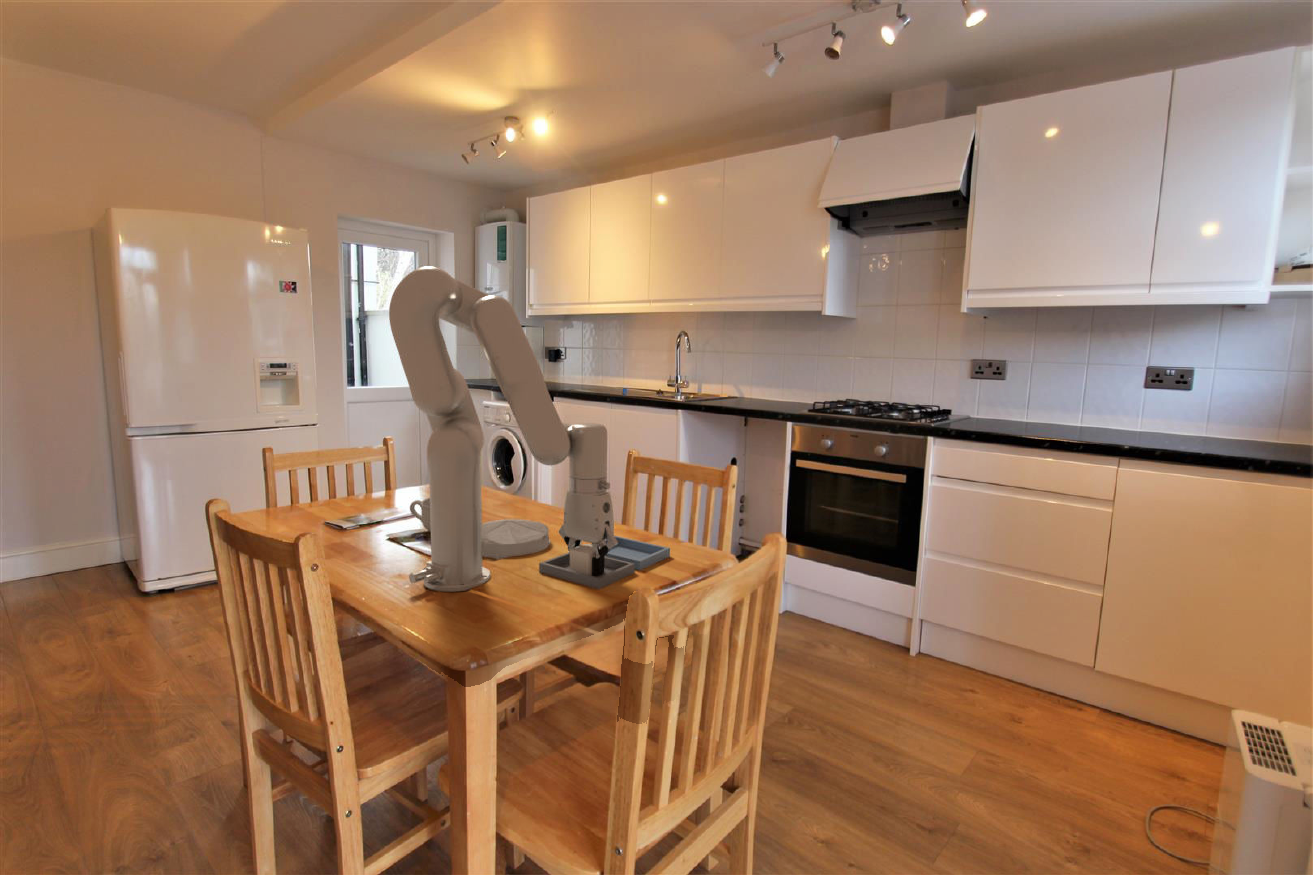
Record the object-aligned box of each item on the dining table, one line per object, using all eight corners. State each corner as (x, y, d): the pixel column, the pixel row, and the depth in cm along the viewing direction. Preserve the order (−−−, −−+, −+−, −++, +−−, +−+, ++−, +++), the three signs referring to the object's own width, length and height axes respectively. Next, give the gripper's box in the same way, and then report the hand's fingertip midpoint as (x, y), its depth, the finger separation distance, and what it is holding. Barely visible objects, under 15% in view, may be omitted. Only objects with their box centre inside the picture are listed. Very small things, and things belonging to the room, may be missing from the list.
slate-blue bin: (639, 572, 131) (640, 561, 131) (582, 558, 140) (582, 547, 140) (669, 558, 141) (670, 547, 141) (614, 545, 149) (614, 535, 149)
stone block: (588, 578, 126) (588, 554, 125) (569, 573, 128) (569, 549, 128) (604, 571, 130) (604, 548, 129) (585, 566, 133) (585, 543, 132)
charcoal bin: (598, 592, 120) (599, 579, 120) (539, 574, 129) (539, 562, 128) (634, 575, 130) (634, 563, 129) (576, 560, 138) (576, 549, 138)
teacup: (475, 528, 162) (474, 497, 161) (450, 539, 151) (449, 507, 150) (427, 522, 165) (427, 493, 164) (400, 533, 155) (399, 502, 154)
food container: (561, 538, 156) (561, 511, 156) (538, 563, 137) (538, 532, 136) (483, 535, 158) (483, 508, 158) (449, 558, 139) (449, 528, 138)
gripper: (633, 487, 125) (631, 575, 128) (568, 476, 135) (568, 559, 137) (609, 494, 119) (608, 586, 121) (543, 482, 128) (543, 568, 131)
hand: (587, 571), depth 129 cm, fingers closed on stone block, 5 cm apart
